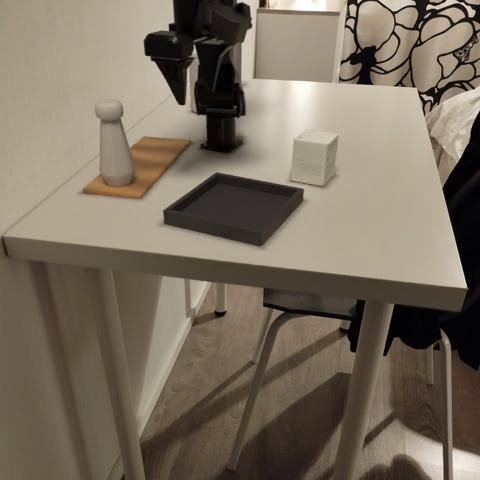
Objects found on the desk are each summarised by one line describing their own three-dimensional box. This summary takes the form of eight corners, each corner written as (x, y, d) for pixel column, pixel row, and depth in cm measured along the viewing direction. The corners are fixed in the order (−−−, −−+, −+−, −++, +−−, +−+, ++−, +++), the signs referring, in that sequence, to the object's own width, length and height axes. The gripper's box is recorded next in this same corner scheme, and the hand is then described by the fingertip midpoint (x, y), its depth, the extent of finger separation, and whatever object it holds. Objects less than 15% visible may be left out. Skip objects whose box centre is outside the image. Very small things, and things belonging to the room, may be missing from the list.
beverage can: (209, 114, 121) (207, 57, 113) (189, 113, 121) (186, 56, 114) (213, 108, 124) (212, 53, 117) (193, 107, 125) (191, 52, 118)
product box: (323, 187, 87) (328, 143, 83) (289, 181, 89) (292, 138, 85) (334, 175, 91) (339, 133, 87) (302, 169, 94) (305, 128, 89)
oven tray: (216, 184, 88) (216, 172, 87) (303, 201, 83) (304, 188, 81) (164, 223, 76) (162, 210, 75) (261, 246, 71) (261, 232, 69)
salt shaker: (94, 184, 86) (80, 102, 78) (116, 173, 90) (105, 94, 82) (121, 192, 84) (110, 108, 76) (143, 180, 88) (134, 99, 80)
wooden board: (144, 139, 107) (143, 136, 106) (190, 142, 105) (190, 139, 105) (82, 192, 85) (82, 189, 84) (140, 198, 83) (140, 195, 83)
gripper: (210, -11, 64) (213, 120, 73) (269, -20, 77) (266, 91, 87) (135, -14, 68) (147, 110, 77) (204, -23, 81) (207, 83, 91)
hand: (196, 98), depth 83 cm, fingers open, 9 cm apart
